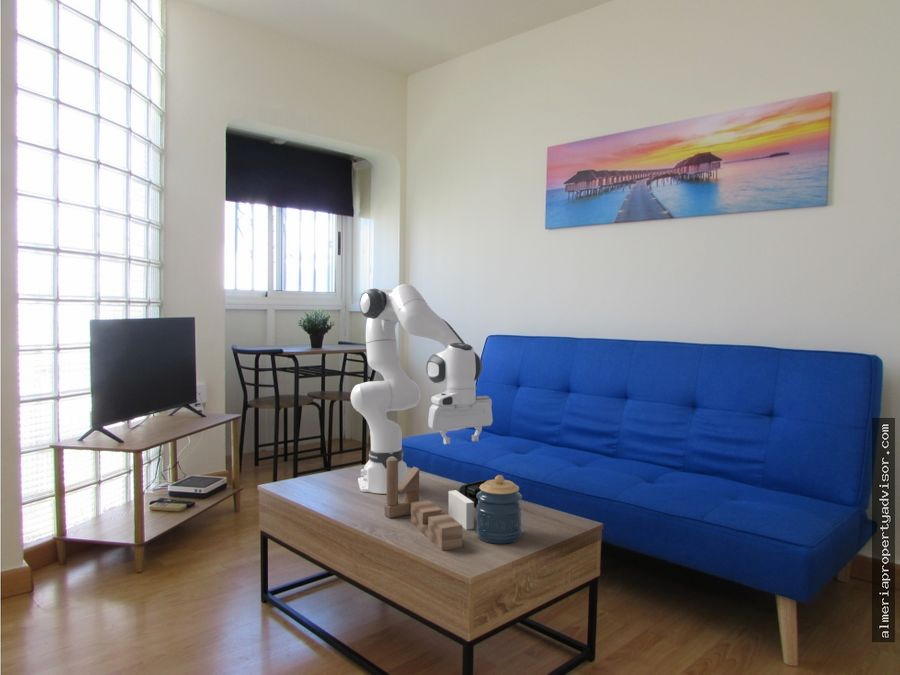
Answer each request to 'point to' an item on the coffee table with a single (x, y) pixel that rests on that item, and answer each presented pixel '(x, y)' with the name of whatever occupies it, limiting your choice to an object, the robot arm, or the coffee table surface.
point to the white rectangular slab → (461, 509)
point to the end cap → (471, 491)
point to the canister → (499, 511)
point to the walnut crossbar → (436, 525)
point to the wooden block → (400, 490)
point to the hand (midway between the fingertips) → (461, 442)
